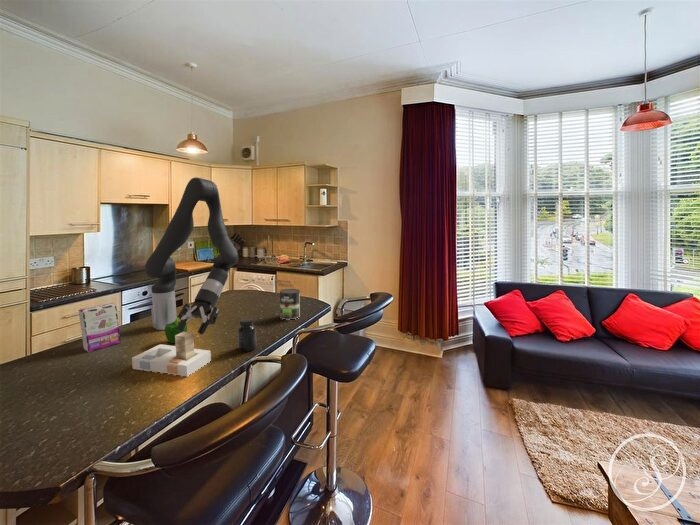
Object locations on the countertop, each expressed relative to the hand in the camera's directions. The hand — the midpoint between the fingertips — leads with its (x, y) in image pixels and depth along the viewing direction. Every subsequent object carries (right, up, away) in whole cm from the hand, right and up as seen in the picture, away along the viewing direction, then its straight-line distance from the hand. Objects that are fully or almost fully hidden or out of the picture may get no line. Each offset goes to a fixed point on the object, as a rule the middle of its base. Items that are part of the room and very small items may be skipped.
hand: (189, 332), depth 114 cm
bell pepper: (-15, -8, +20) cm, 27 cm away
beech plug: (0, -12, -1) cm, 12 cm away
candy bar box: (-42, -9, +15) cm, 46 cm away
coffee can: (+26, -4, +53) cm, 59 cm away
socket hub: (-6, -11, 0) cm, 13 cm away
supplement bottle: (+16, -10, +14) cm, 24 cm away
